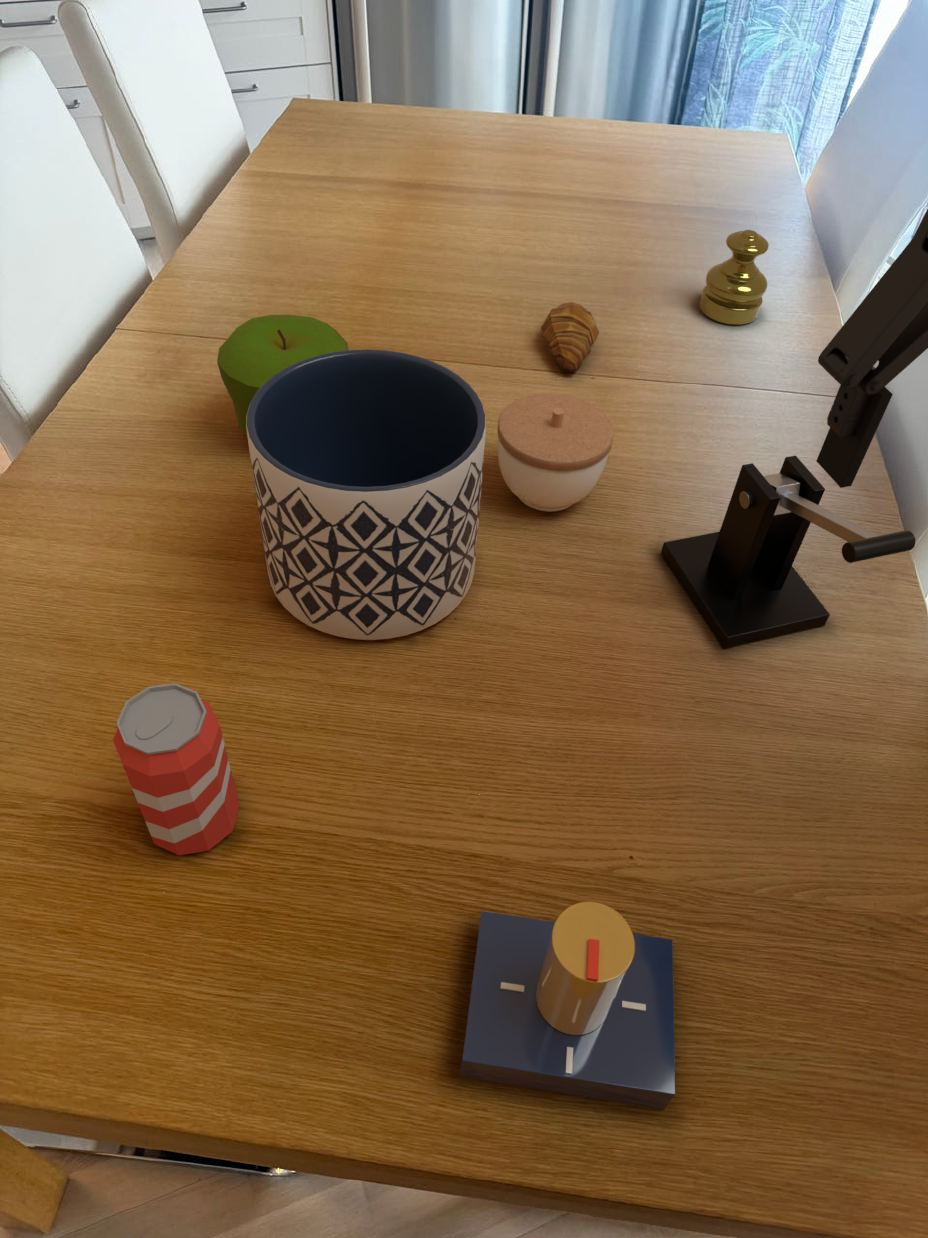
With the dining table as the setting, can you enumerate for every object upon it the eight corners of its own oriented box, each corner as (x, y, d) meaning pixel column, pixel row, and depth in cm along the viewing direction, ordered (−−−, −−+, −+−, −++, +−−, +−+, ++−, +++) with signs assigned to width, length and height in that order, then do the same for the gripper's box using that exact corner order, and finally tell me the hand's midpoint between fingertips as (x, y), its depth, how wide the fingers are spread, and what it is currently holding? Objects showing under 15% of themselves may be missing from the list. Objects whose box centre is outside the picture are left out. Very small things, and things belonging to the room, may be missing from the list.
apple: (260, 480, 90) (246, 379, 81) (211, 414, 96) (193, 315, 88) (374, 442, 95) (371, 343, 86) (319, 381, 101) (312, 284, 93)
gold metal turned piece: (746, 295, 119) (769, 218, 112) (766, 325, 114) (791, 247, 107) (691, 296, 118) (710, 218, 111) (709, 327, 113) (730, 248, 106)
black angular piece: (824, 626, 80) (881, 514, 71) (722, 649, 78) (767, 537, 68) (754, 535, 88) (797, 423, 78) (660, 553, 85) (692, 441, 76)
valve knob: (538, 955, 56) (555, 893, 50) (610, 966, 56) (636, 905, 50) (532, 1029, 53) (549, 973, 47) (608, 1041, 53) (635, 986, 47)
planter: (298, 669, 74) (278, 514, 62) (247, 524, 85) (222, 368, 73) (506, 614, 79) (525, 461, 67) (432, 484, 90) (437, 333, 78)
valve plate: (662, 958, 60) (673, 938, 57) (664, 1110, 54) (676, 1094, 51) (478, 930, 60) (481, 909, 58) (459, 1077, 54) (462, 1060, 52)
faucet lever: (913, 559, 65) (918, 527, 64) (852, 572, 64) (857, 540, 63) (791, 497, 77) (794, 470, 76) (738, 507, 76) (740, 479, 75)
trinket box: (597, 535, 87) (613, 455, 80) (484, 518, 88) (491, 437, 81) (604, 465, 94) (621, 386, 87) (500, 450, 95) (508, 370, 88)
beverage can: (129, 821, 64) (86, 719, 56) (204, 765, 68) (174, 660, 59) (183, 877, 62) (147, 779, 53) (258, 816, 65) (236, 714, 56)
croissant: (540, 314, 113) (545, 275, 110) (595, 319, 113) (602, 280, 109) (537, 375, 104) (541, 335, 100) (597, 381, 104) (604, 341, 100)
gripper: (944, 136, 38) (785, 528, 53) (1380, 101, 44) (1123, 462, 59) (840, 74, 42) (722, 450, 58) (1246, 50, 48) (1040, 397, 64)
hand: (924, 457), depth 59 cm, fingers open, 13 cm apart
